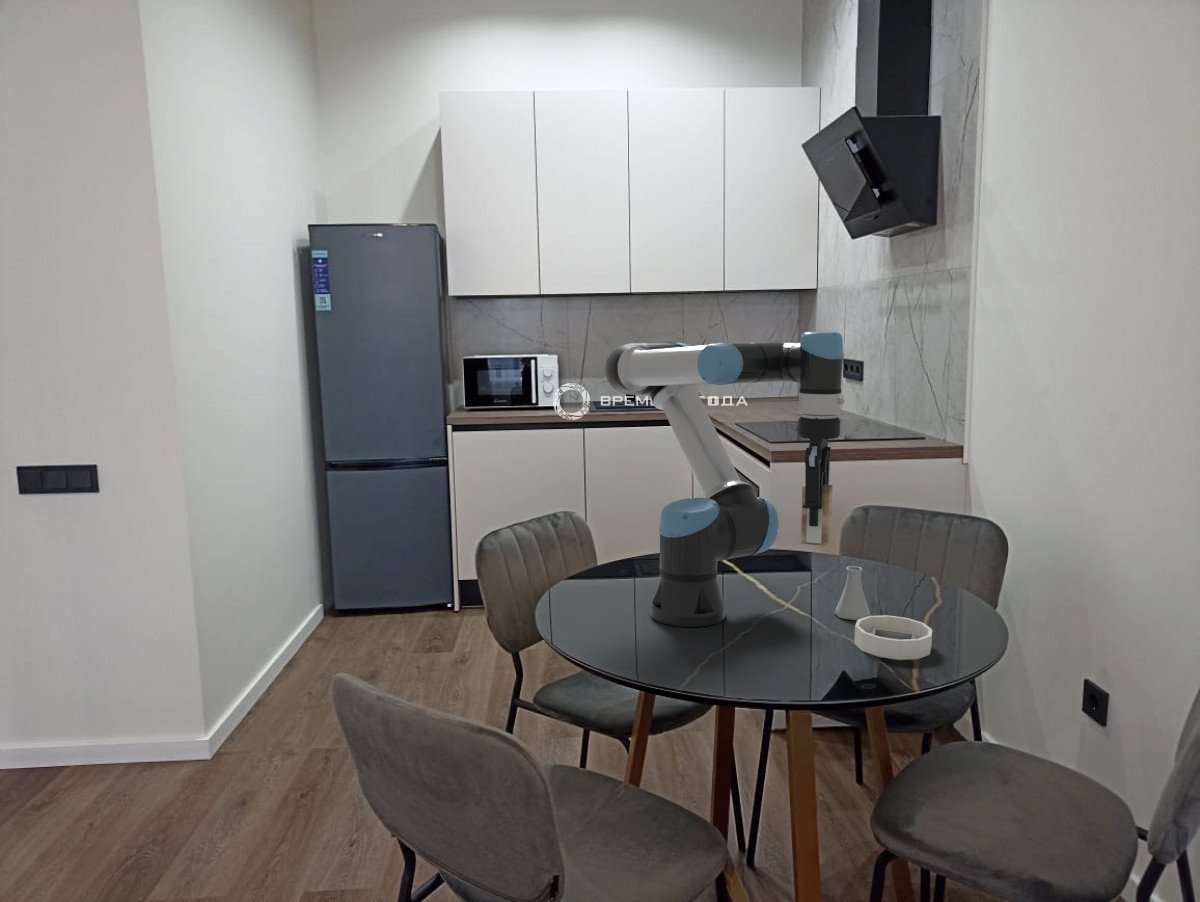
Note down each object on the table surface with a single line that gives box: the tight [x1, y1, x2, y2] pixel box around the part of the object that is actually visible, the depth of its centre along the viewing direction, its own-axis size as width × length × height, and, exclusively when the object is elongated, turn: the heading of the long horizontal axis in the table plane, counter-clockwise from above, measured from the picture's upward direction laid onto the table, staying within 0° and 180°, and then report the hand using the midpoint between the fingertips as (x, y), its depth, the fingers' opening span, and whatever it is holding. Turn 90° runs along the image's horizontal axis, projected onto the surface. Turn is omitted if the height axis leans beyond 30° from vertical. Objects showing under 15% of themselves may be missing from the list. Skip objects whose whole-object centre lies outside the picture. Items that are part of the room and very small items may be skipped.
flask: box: [834, 565, 872, 621], centre depth 176 cm, size 7×7×10 cm
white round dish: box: [853, 614, 933, 661], centre depth 160 cm, size 13×13×4 cm
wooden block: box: [800, 483, 833, 547], centre depth 163 cm, size 5×3×11 cm, turn 66°
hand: (815, 539), depth 163 cm, fingers closed on wooden block, 3 cm apart
